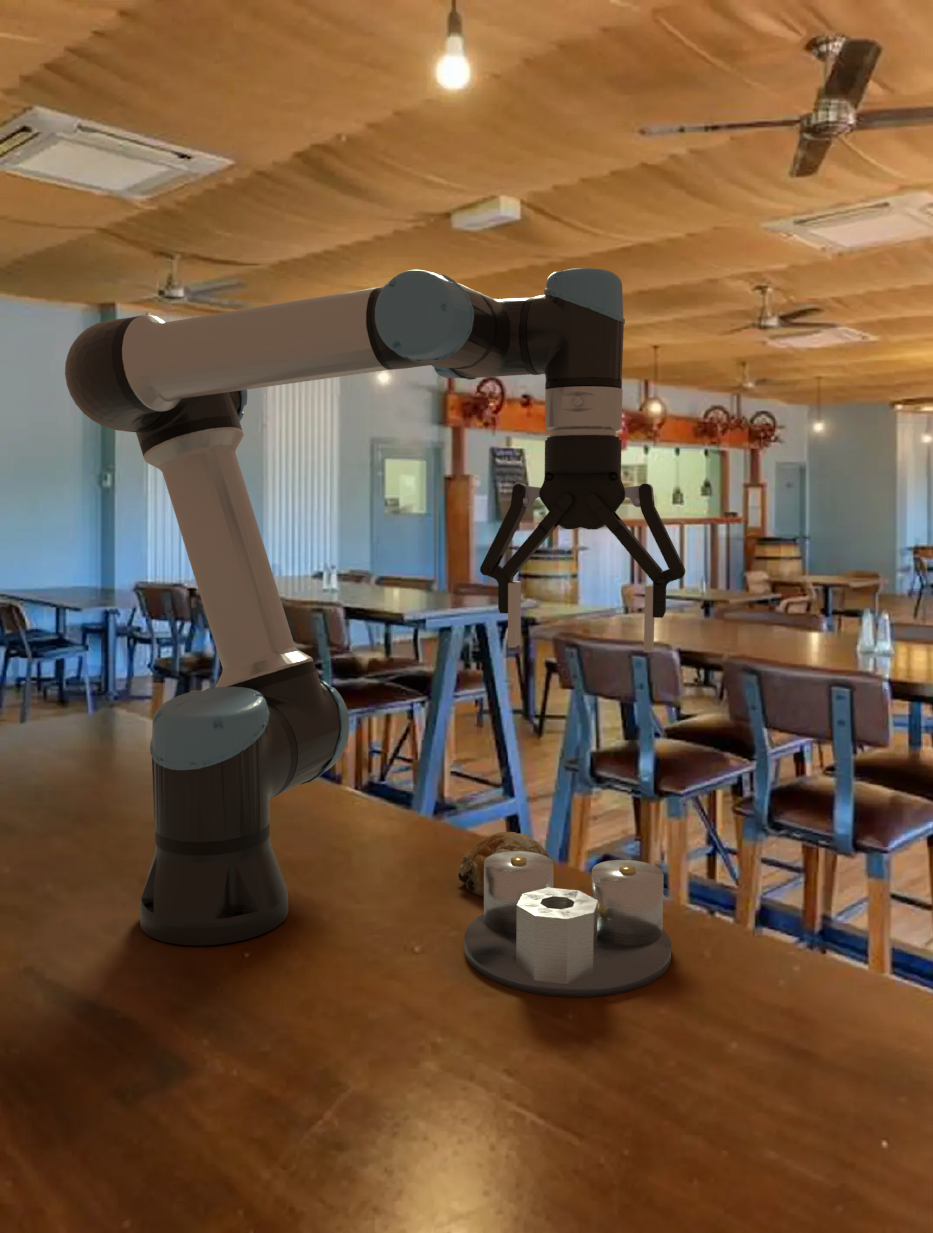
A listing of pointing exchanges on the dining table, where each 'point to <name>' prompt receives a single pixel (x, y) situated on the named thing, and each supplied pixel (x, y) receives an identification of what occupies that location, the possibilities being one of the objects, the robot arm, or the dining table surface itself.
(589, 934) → the octagonal metal nut
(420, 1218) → the dining table surface
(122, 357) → the robot arm
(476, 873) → the bread roll
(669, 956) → the carrier
